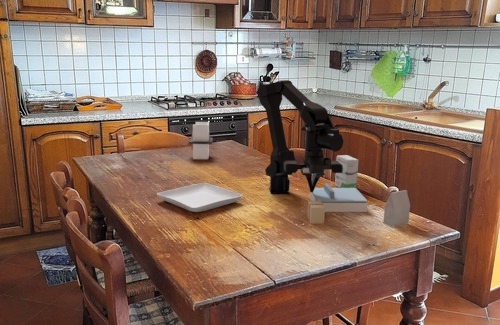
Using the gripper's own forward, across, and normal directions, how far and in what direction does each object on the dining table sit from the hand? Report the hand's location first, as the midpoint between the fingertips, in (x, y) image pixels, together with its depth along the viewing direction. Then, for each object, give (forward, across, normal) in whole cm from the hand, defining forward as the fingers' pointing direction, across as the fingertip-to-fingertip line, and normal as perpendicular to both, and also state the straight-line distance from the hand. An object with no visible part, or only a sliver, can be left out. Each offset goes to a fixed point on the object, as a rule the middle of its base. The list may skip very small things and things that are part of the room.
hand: (311, 191), depth 158 cm
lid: (+1, +9, 0) cm, 9 cm away
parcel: (+5, -1, -14) cm, 15 cm away
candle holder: (+5, -39, +69) cm, 79 cm away
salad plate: (+5, -37, +3) cm, 38 cm away
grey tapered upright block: (+5, +23, -17) cm, 29 cm away
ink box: (+5, +17, +20) cm, 27 cm away
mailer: (+4, +9, 0) cm, 10 cm away
